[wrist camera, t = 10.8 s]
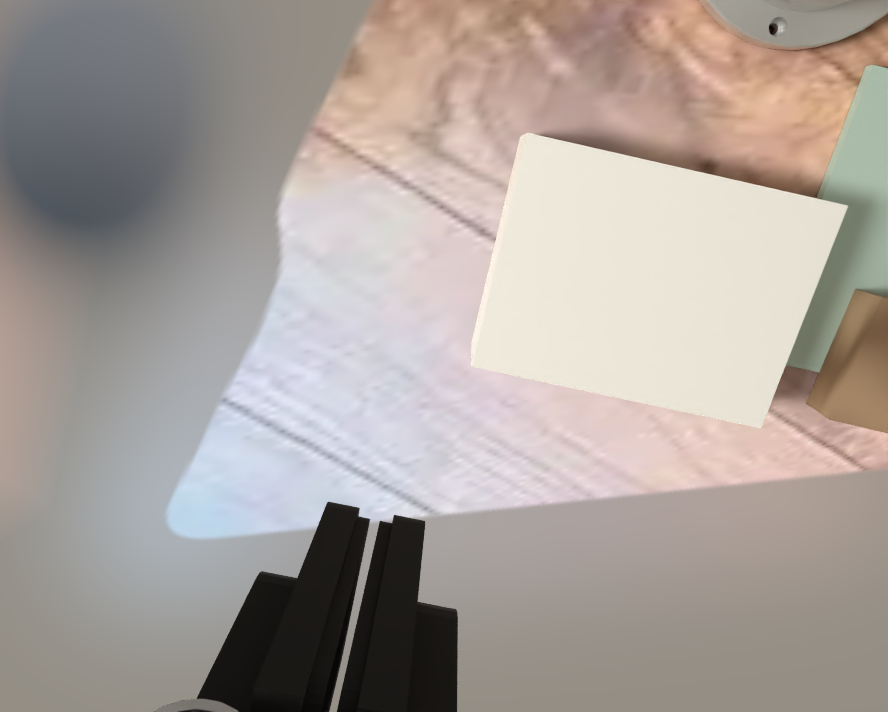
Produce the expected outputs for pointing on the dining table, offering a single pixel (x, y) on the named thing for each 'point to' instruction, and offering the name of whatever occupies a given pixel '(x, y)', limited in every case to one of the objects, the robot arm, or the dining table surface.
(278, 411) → the dining table surface
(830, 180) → the mat
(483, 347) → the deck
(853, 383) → the block
